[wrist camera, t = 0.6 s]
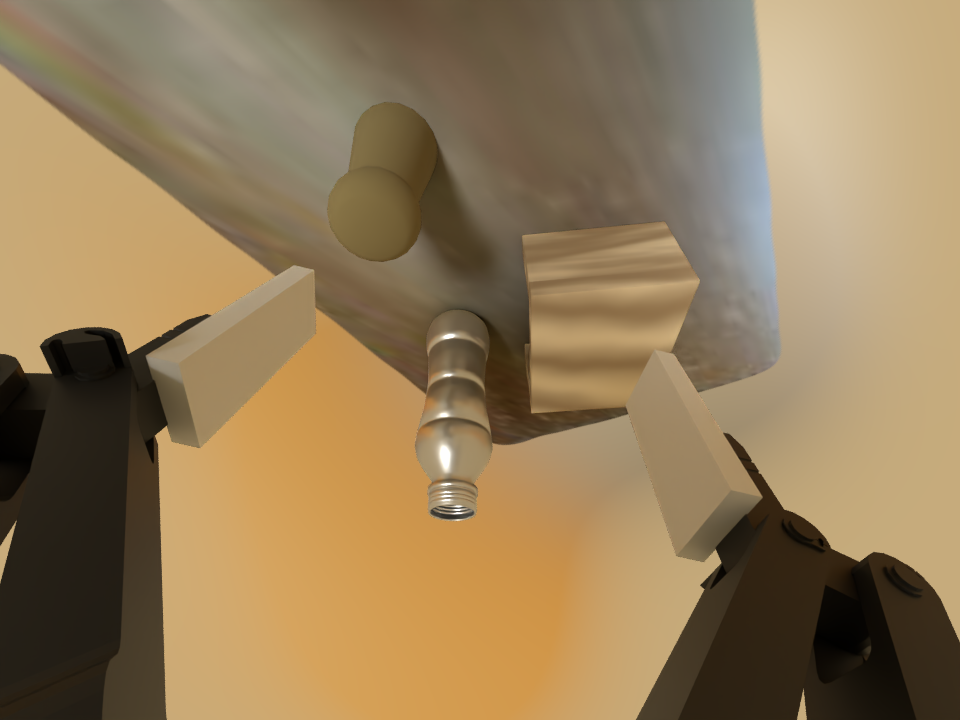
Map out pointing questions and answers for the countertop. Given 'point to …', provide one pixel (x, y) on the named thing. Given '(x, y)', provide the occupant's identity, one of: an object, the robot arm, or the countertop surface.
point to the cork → (383, 183)
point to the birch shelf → (601, 311)
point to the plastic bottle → (455, 414)
